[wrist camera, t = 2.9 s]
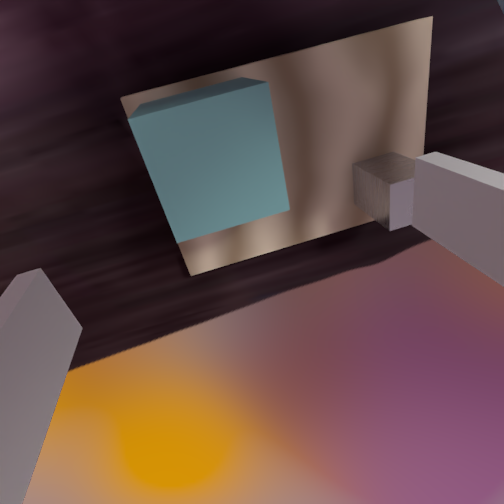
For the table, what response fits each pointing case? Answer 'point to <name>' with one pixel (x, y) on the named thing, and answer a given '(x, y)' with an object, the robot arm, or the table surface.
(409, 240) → the table surface
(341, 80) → the base board
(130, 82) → the table surface
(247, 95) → the teal cube
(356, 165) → the grey rectangular block
